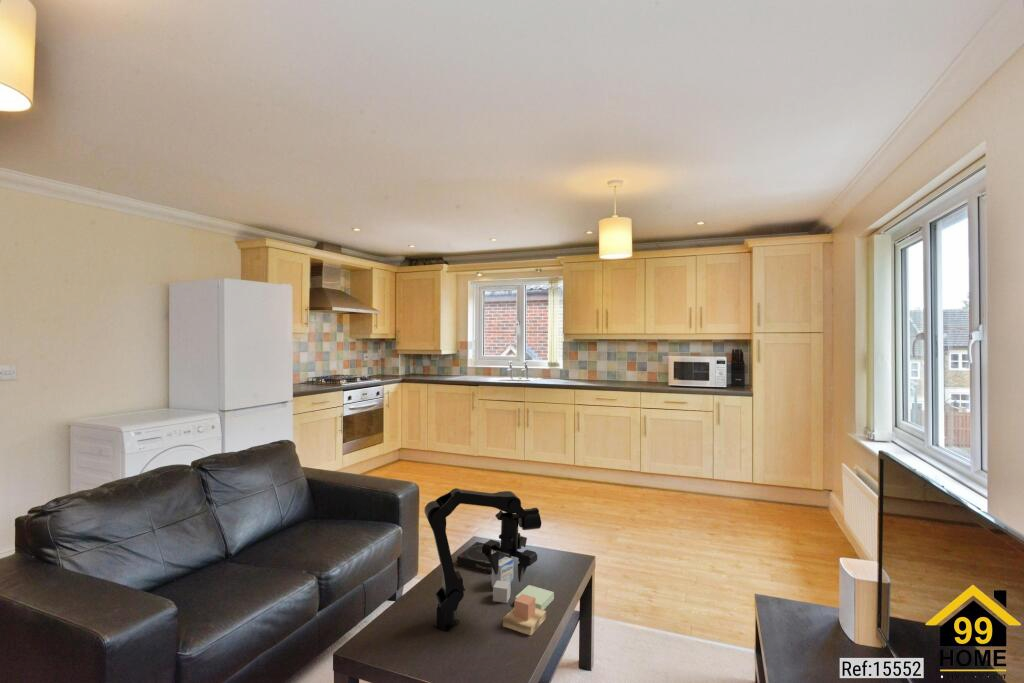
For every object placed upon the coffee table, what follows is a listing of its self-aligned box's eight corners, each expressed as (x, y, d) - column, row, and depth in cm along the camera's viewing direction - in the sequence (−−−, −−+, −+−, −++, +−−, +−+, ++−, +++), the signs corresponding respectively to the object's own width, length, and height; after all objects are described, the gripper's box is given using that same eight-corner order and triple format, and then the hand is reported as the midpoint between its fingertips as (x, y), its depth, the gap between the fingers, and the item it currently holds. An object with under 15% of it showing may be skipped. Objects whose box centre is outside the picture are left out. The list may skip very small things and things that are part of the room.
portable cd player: (511, 557, 211) (511, 548, 211) (493, 575, 196) (493, 564, 196) (477, 550, 218) (477, 541, 218) (457, 566, 203) (457, 556, 203)
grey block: (506, 603, 174) (506, 588, 174) (492, 601, 176) (493, 587, 176) (510, 596, 179) (510, 582, 179) (496, 594, 181) (497, 580, 180)
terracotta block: (528, 620, 159) (528, 604, 159) (514, 615, 162) (514, 600, 162) (535, 613, 164) (535, 597, 164) (521, 608, 166) (521, 593, 166)
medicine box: (500, 590, 183) (500, 566, 183) (491, 586, 186) (491, 563, 186) (513, 582, 190) (514, 559, 190) (504, 578, 192) (504, 555, 192)
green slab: (541, 612, 169) (541, 605, 169) (515, 604, 174) (515, 597, 174) (553, 599, 177) (553, 592, 177) (528, 591, 182) (528, 584, 182)
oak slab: (530, 635, 156) (530, 627, 155) (502, 626, 160) (502, 618, 160) (546, 618, 165) (546, 611, 165) (519, 610, 170) (519, 602, 170)
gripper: (545, 529, 169) (544, 576, 170) (499, 518, 179) (497, 562, 179) (529, 540, 160) (528, 589, 160) (481, 527, 170) (480, 574, 170)
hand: (508, 577), depth 167 cm, fingers open, 9 cm apart
